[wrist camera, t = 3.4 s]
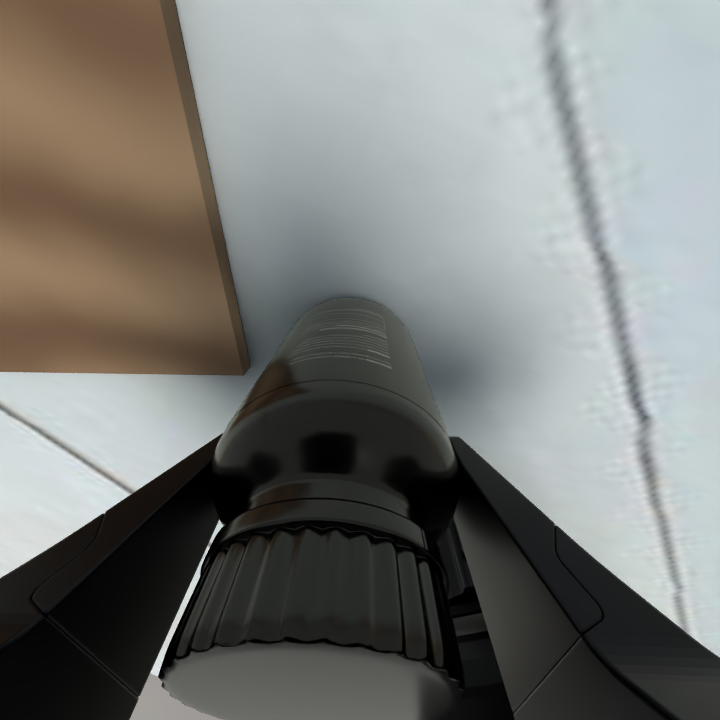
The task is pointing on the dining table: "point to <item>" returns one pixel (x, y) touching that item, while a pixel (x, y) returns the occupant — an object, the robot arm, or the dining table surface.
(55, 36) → the walnut board
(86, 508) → the dining table surface
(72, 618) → the robot arm
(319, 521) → the supplement bottle
